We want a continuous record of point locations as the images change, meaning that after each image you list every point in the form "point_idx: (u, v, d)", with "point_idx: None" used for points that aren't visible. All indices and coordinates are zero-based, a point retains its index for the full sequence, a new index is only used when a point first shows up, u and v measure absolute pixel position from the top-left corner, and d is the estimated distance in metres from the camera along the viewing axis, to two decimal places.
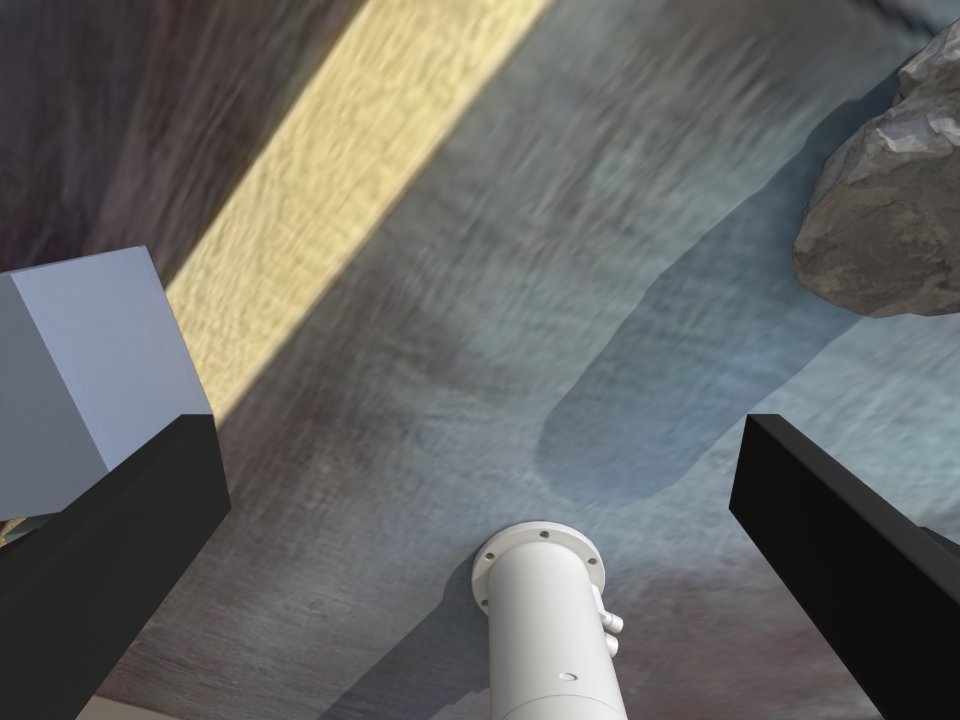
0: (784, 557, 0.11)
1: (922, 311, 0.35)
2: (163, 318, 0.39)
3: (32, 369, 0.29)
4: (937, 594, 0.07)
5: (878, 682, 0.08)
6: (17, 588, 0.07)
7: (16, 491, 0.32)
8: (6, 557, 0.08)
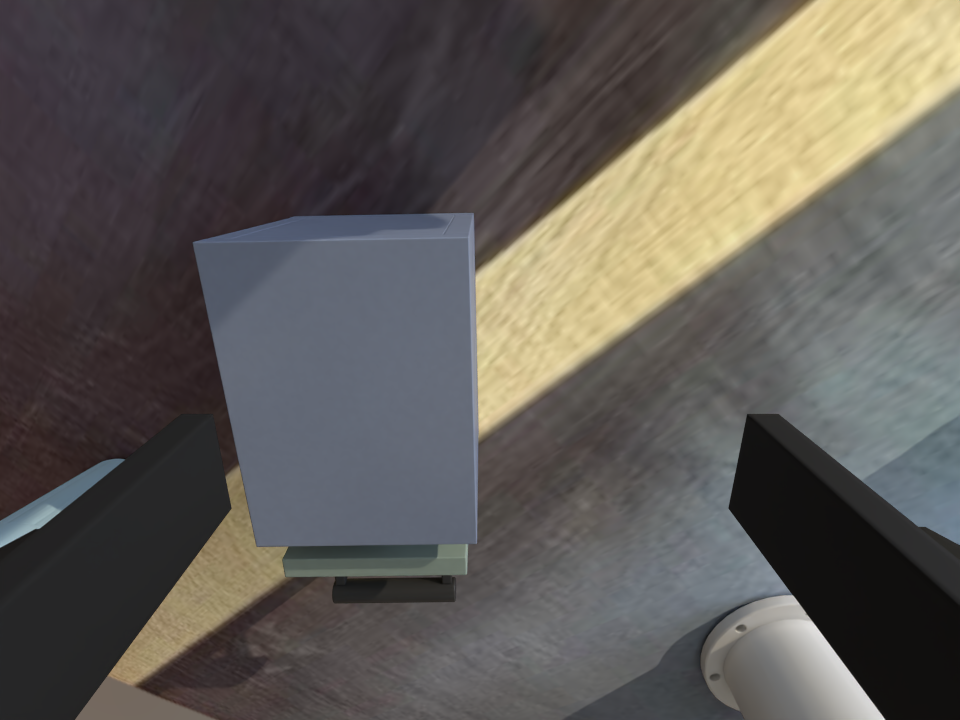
0: (784, 557, 0.11)
1: None
2: None
3: (438, 365, 0.22)
4: (937, 594, 0.07)
5: (877, 682, 0.08)
6: (17, 588, 0.07)
7: (342, 513, 0.24)
8: (6, 557, 0.08)
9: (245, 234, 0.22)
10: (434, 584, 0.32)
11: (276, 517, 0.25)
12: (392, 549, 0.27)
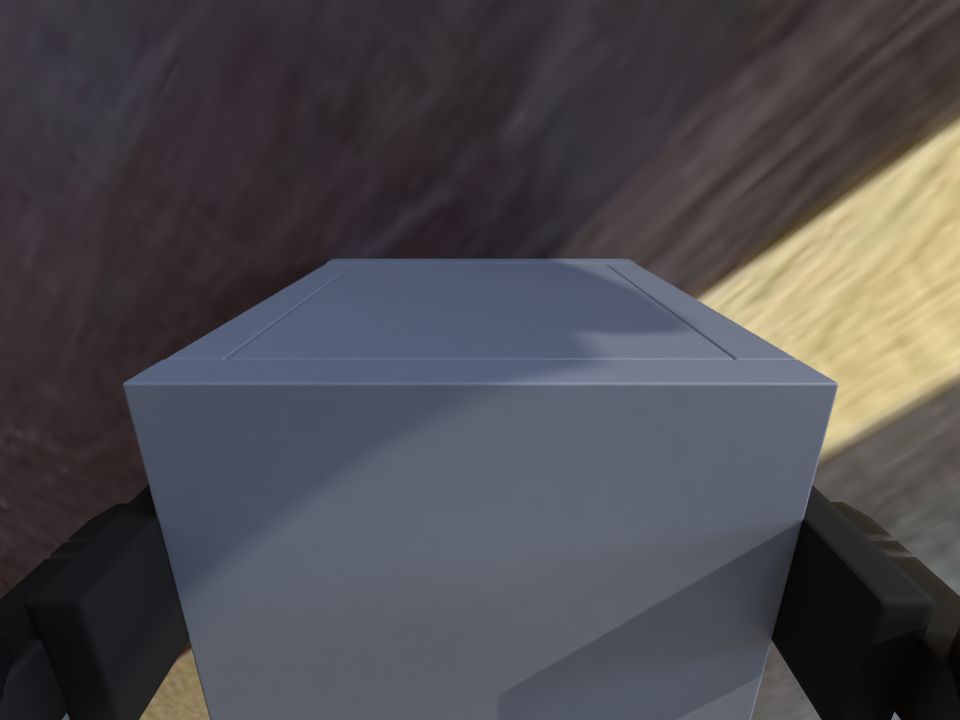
0: None
1: None
2: None
3: (692, 646, 0.10)
4: (831, 556, 0.08)
5: (789, 642, 0.09)
6: (124, 550, 0.08)
7: None
8: (108, 524, 0.08)
9: (256, 335, 0.10)
10: None
11: None
12: None
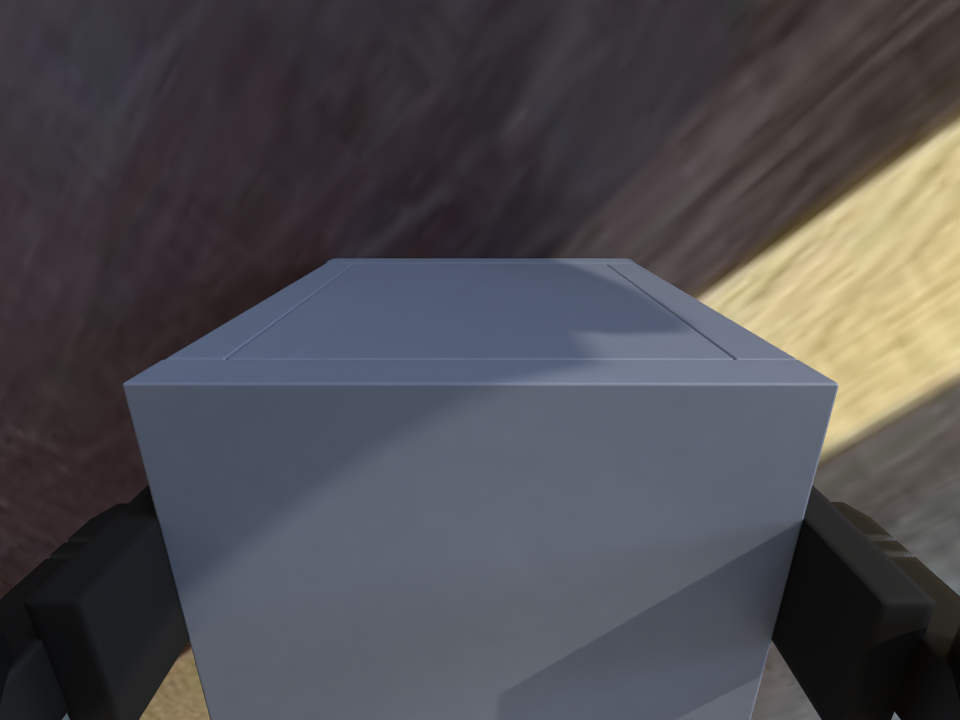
0: None
1: None
2: None
3: (692, 646, 0.10)
4: (831, 556, 0.08)
5: (789, 641, 0.09)
6: (124, 550, 0.08)
7: None
8: (108, 524, 0.08)
9: (256, 335, 0.10)
10: None
11: None
12: None
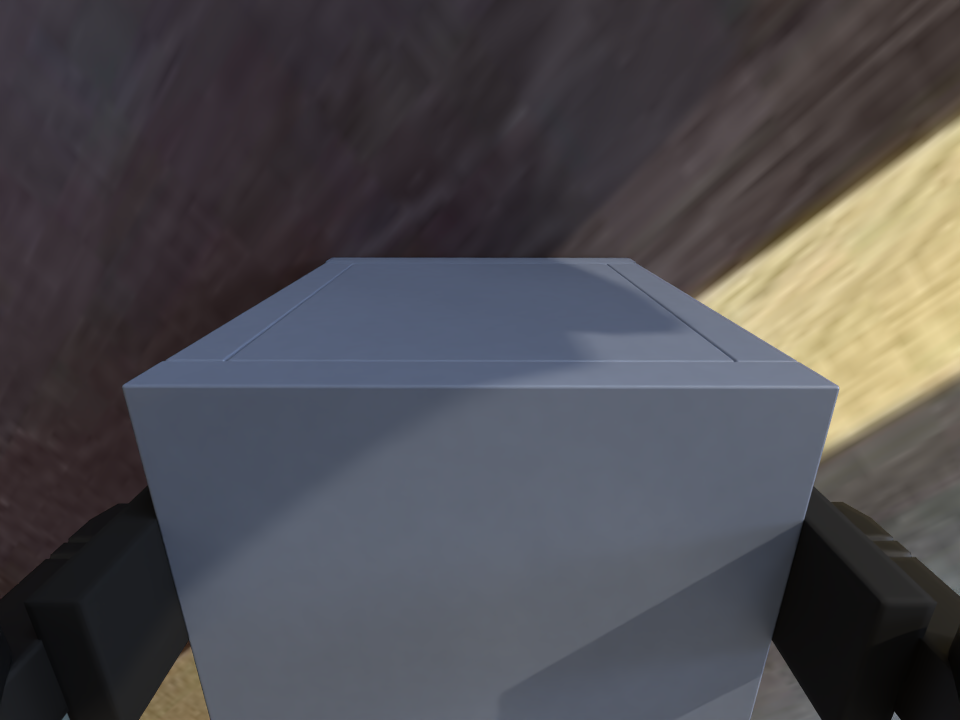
0: None
1: None
2: None
3: (692, 648, 0.10)
4: (831, 556, 0.08)
5: (789, 641, 0.09)
6: (124, 551, 0.08)
7: None
8: (108, 524, 0.08)
9: (255, 336, 0.10)
10: None
11: None
12: None
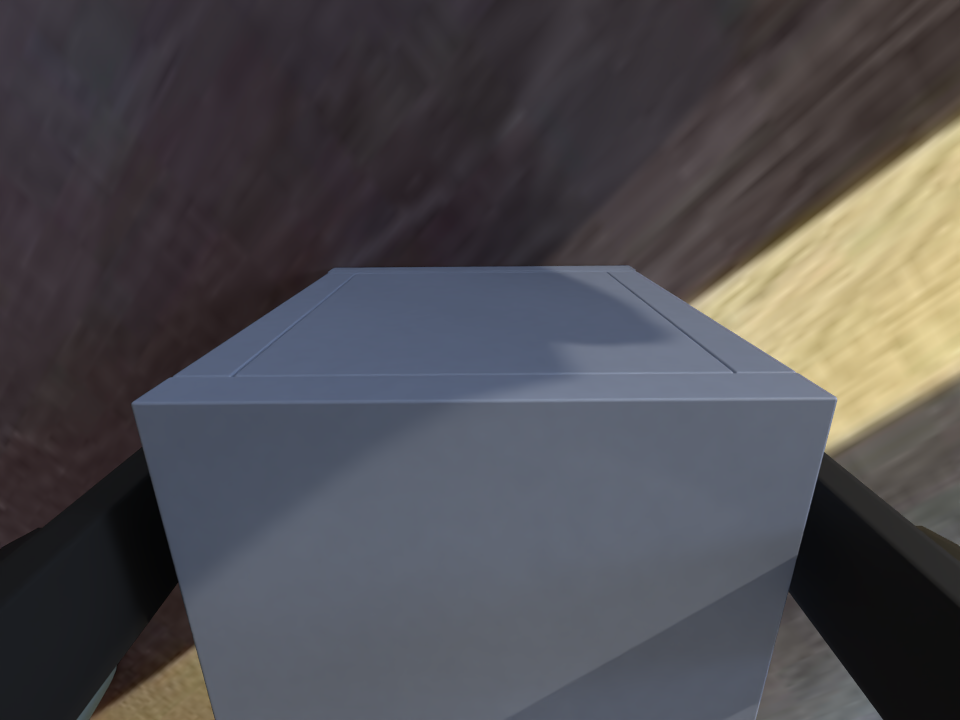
0: None
1: None
2: None
3: (695, 656, 0.10)
4: (934, 592, 0.07)
5: (875, 680, 0.08)
6: (21, 586, 0.07)
7: None
8: (10, 556, 0.08)
9: (261, 350, 0.10)
10: None
11: None
12: None
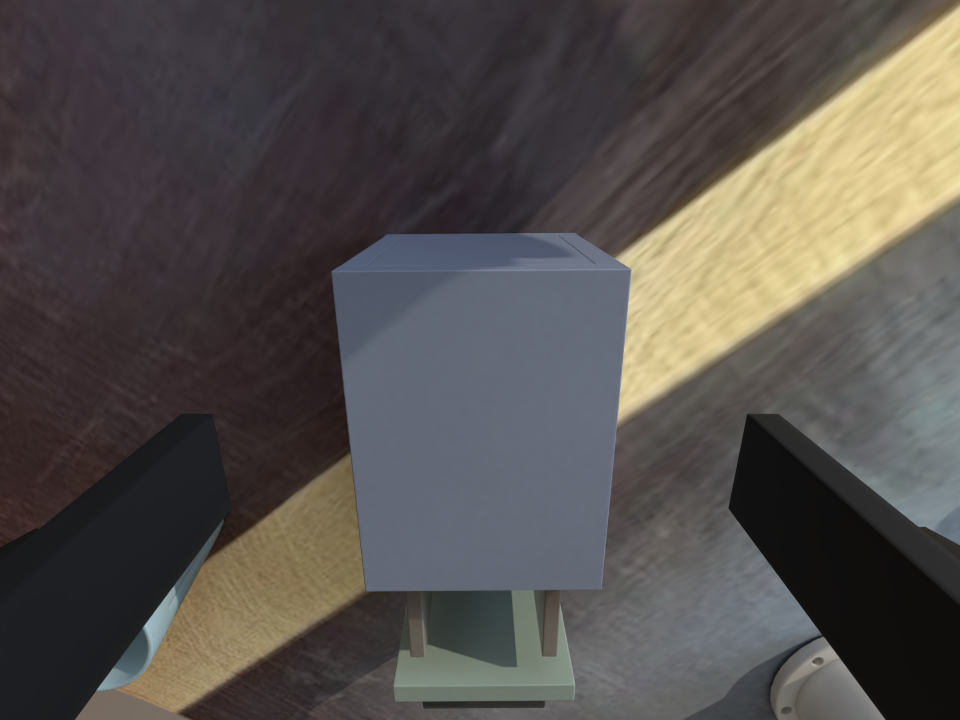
0: (784, 557, 0.11)
1: None
2: None
3: (582, 403, 0.20)
4: (937, 594, 0.07)
5: (878, 682, 0.08)
6: (17, 588, 0.07)
7: (461, 556, 0.23)
8: (6, 557, 0.08)
9: (372, 260, 0.21)
10: None
11: (390, 561, 0.23)
12: (499, 673, 0.28)
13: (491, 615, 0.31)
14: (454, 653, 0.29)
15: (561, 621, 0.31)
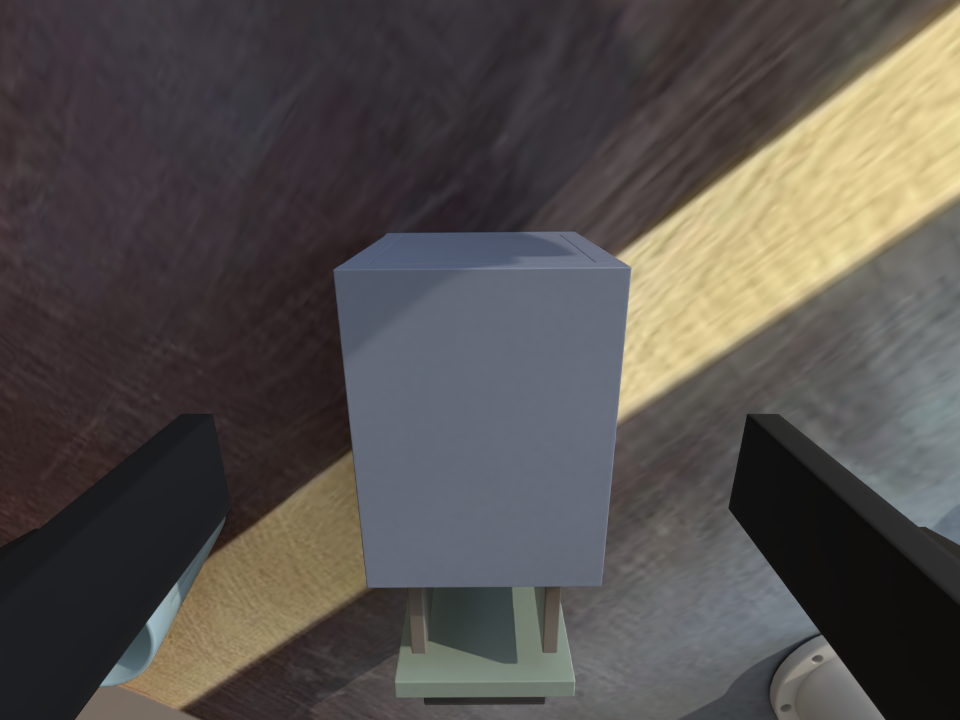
0: (784, 556, 0.11)
1: None
2: None
3: (582, 401, 0.20)
4: (937, 594, 0.07)
5: (878, 682, 0.08)
6: (17, 588, 0.07)
7: (462, 553, 0.23)
8: (6, 557, 0.08)
9: (374, 258, 0.21)
10: None
11: (391, 557, 0.23)
12: (500, 670, 0.28)
13: (492, 612, 0.31)
14: (455, 650, 0.29)
15: (561, 618, 0.31)
